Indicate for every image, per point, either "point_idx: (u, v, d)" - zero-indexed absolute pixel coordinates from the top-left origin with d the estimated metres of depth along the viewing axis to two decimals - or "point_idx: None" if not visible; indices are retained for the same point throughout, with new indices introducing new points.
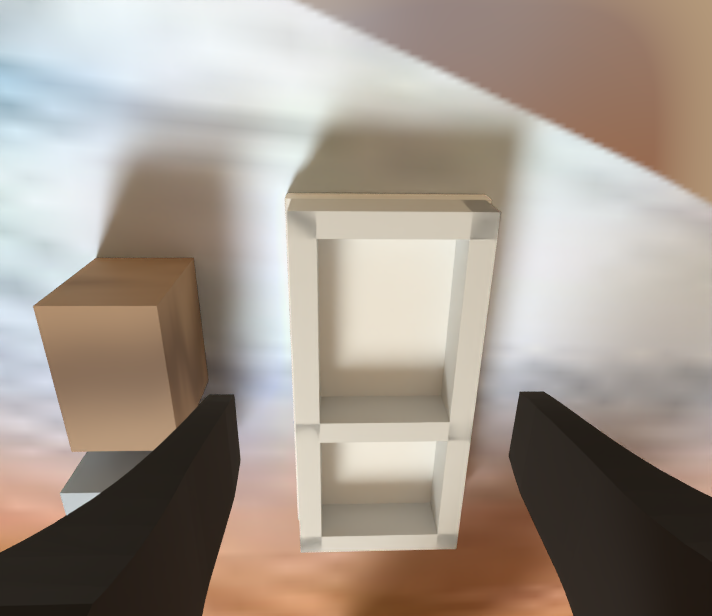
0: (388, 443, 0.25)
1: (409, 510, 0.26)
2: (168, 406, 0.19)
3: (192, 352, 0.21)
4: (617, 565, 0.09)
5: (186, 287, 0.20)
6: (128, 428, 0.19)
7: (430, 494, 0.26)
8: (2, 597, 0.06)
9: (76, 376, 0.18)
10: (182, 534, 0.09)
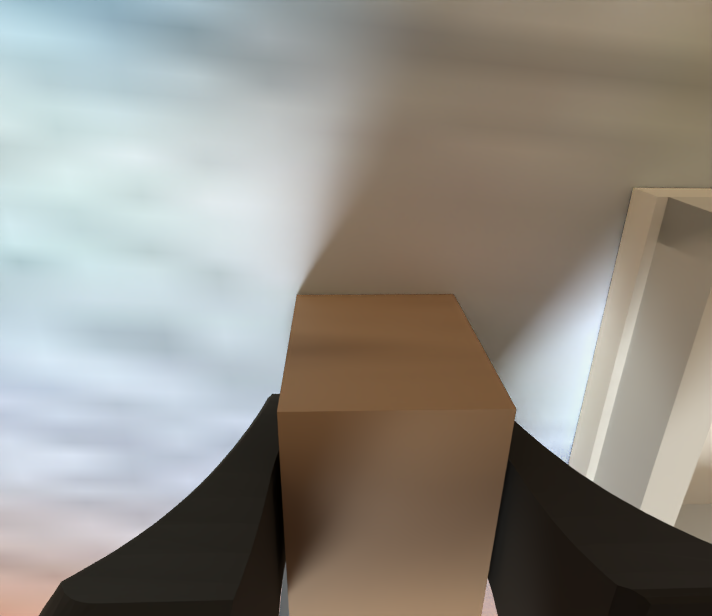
0: None
1: None
2: (480, 574, 0.10)
3: None
4: (528, 567, 0.09)
5: None
6: (399, 609, 0.11)
7: None
8: (140, 593, 0.06)
9: (329, 531, 0.10)
10: (270, 532, 0.09)
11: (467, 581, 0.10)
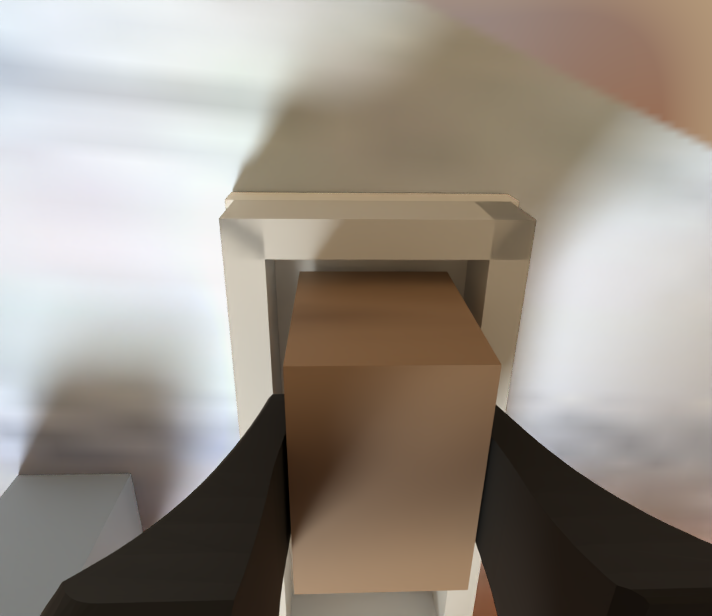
0: None
1: (404, 603, 0.20)
2: (470, 525, 0.11)
3: None
4: (528, 567, 0.09)
5: None
6: (395, 559, 0.11)
7: None
8: (141, 593, 0.06)
9: (329, 482, 0.10)
10: (271, 532, 0.09)
11: (458, 531, 0.11)
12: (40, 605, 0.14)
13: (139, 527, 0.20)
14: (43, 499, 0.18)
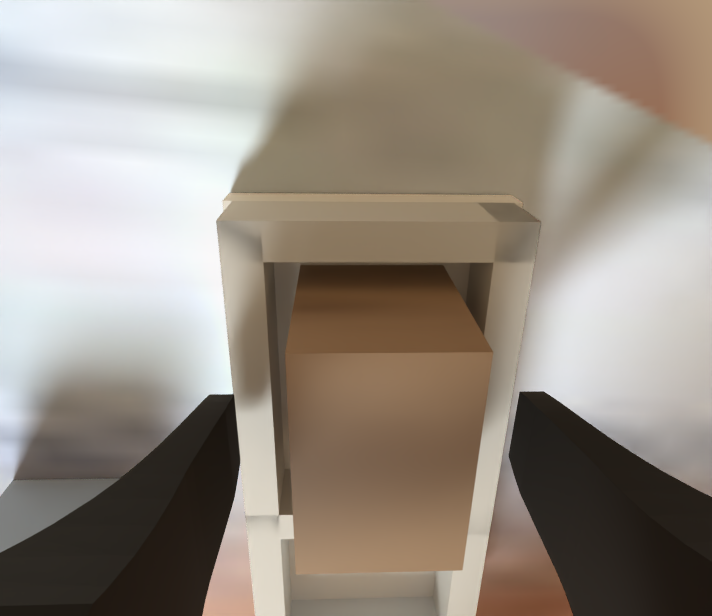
0: None
1: (405, 609, 0.20)
2: (464, 507, 0.12)
3: None
4: (616, 565, 0.09)
5: None
6: (392, 540, 0.12)
7: (433, 587, 0.20)
8: (3, 596, 0.06)
9: (330, 465, 0.11)
10: (182, 534, 0.09)
11: (453, 513, 0.12)
12: None
13: None
14: (39, 504, 0.17)
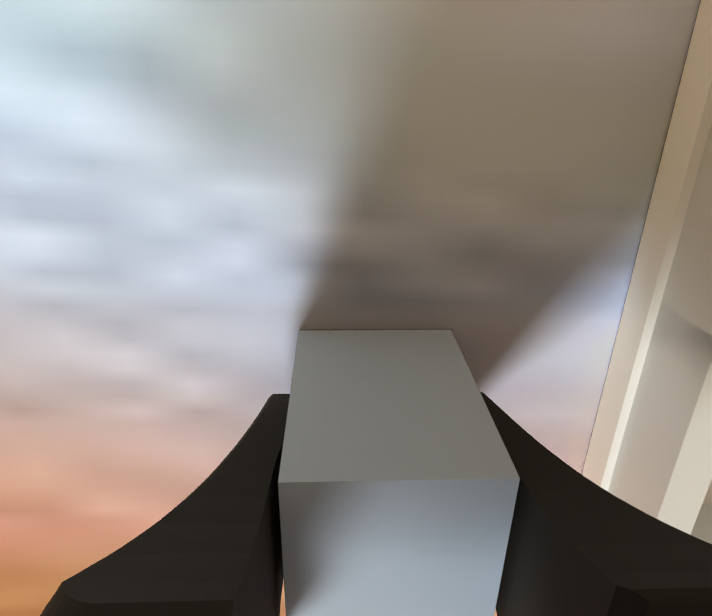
0: None
1: None
2: None
3: None
4: (527, 567, 0.09)
5: None
6: None
7: None
8: (141, 593, 0.06)
9: None
10: (271, 532, 0.09)
11: None
12: (477, 464, 0.09)
13: None
14: (358, 353, 0.12)
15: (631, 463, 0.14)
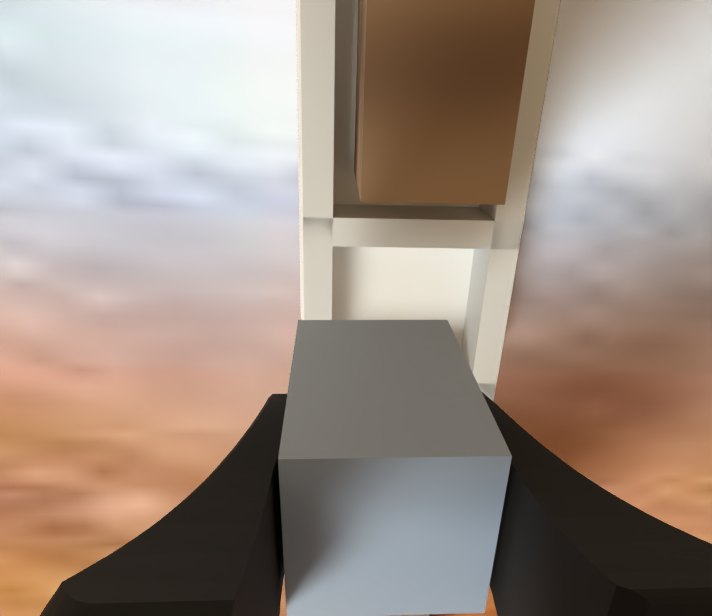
0: (413, 273, 0.20)
1: None
2: (510, 127, 0.13)
3: None
4: (527, 566, 0.09)
5: None
6: (446, 164, 0.14)
7: (460, 346, 0.22)
8: (142, 593, 0.06)
9: (398, 70, 0.13)
10: (271, 532, 0.09)
11: (500, 134, 0.13)
12: (470, 443, 0.09)
13: None
14: (356, 341, 0.13)
15: None
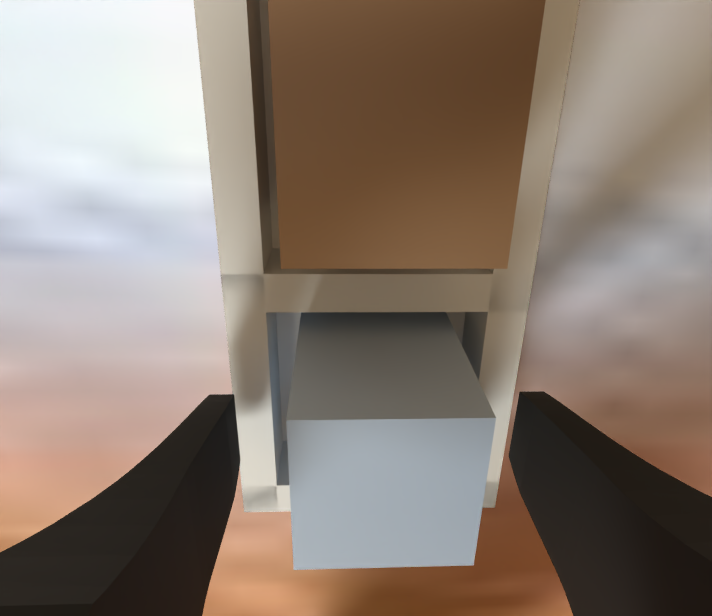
0: None
1: None
2: (514, 151, 0.08)
3: None
4: (616, 564, 0.09)
5: None
6: (414, 210, 0.09)
7: None
8: (3, 596, 0.06)
9: (327, 60, 0.08)
10: (182, 534, 0.09)
11: (498, 162, 0.08)
12: (459, 407, 0.10)
13: None
14: (356, 321, 0.14)
15: None
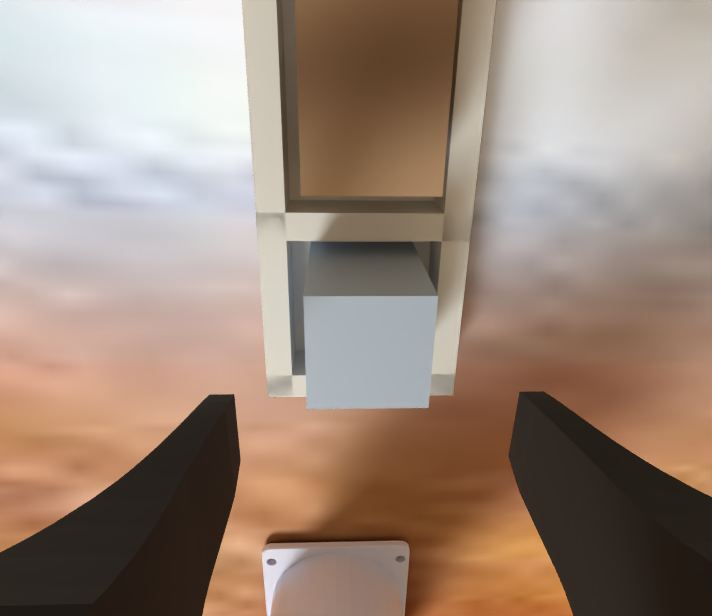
0: None
1: None
2: (442, 121, 0.14)
3: None
4: (617, 565, 0.09)
5: None
6: (382, 158, 0.14)
7: None
8: (3, 596, 0.06)
9: (329, 67, 0.13)
10: (182, 534, 0.09)
11: (433, 128, 0.14)
12: (415, 291, 0.16)
13: None
14: (350, 251, 0.19)
15: None
